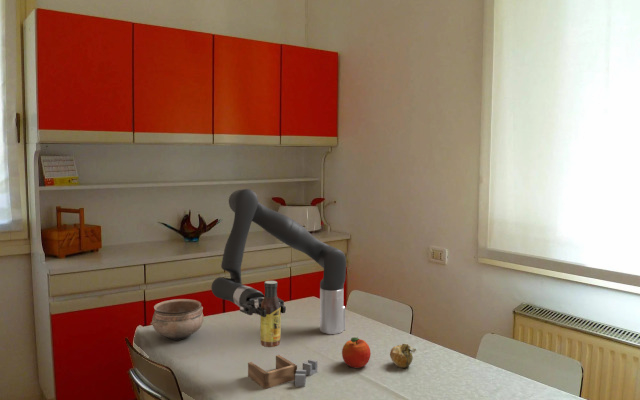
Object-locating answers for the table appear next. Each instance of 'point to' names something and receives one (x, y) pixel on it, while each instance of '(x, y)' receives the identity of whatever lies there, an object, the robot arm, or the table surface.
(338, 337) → the table surface
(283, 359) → the frame
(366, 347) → the fruit
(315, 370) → the clip
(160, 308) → the cooking pot
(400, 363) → the onion
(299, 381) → the clip
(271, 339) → the sauce bottle
